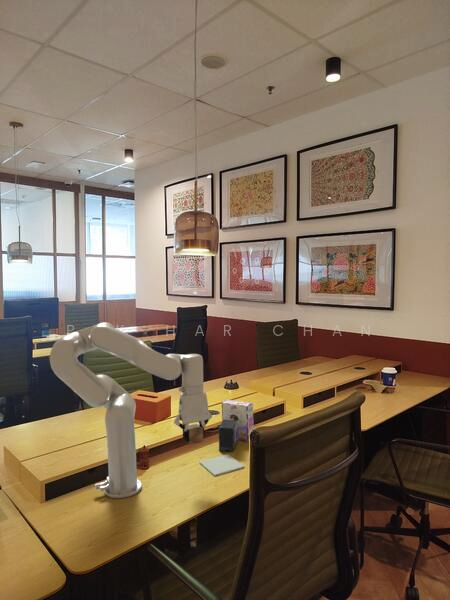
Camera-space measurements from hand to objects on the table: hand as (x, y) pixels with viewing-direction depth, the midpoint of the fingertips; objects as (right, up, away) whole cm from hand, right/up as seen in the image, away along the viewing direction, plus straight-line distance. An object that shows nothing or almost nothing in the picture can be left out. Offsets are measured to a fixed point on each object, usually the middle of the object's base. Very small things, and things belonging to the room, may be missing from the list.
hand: (193, 438), depth 146 cm
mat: (+10, -15, +14) cm, 22 cm away
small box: (+13, -14, +31) cm, 37 cm away
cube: (0, -1, 0) cm, 1 cm away
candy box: (+17, -14, +42) cm, 47 cm away
